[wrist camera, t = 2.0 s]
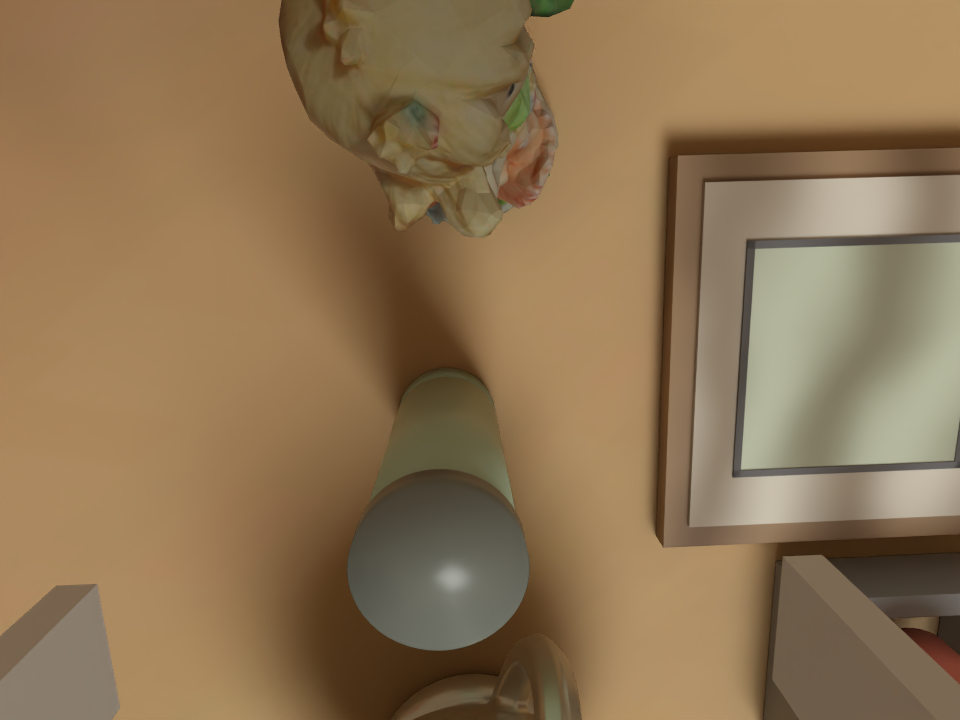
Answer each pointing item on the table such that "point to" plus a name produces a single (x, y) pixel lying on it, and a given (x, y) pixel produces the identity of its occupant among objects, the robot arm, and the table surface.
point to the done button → (936, 650)
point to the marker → (440, 522)
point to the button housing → (886, 601)
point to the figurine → (429, 100)
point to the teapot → (504, 689)
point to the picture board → (810, 347)
